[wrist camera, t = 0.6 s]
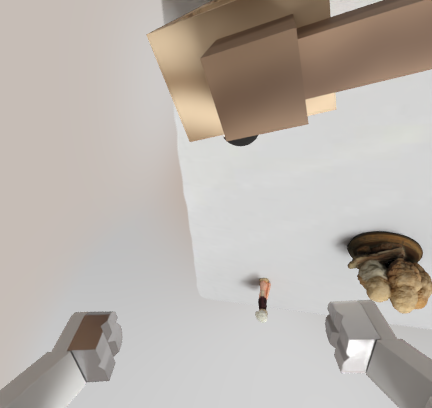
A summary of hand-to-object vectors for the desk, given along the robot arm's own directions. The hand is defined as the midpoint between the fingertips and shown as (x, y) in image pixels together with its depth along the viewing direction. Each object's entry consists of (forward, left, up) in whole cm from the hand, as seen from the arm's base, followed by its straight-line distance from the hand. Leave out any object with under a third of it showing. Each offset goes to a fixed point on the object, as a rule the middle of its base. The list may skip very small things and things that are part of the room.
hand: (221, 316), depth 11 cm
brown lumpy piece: (+50, +18, -46) cm, 71 cm away
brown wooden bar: (-4, +7, -20) cm, 21 cm away
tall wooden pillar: (-4, 0, -46) cm, 46 cm away
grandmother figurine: (+61, -13, -46) cm, 78 cm away
